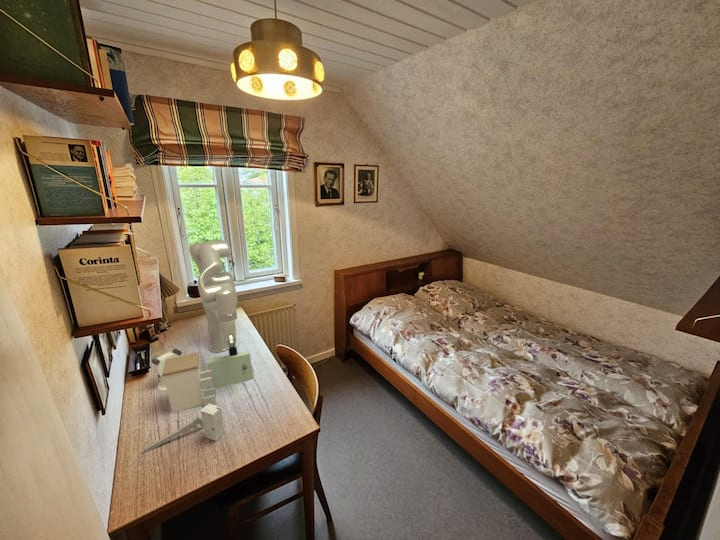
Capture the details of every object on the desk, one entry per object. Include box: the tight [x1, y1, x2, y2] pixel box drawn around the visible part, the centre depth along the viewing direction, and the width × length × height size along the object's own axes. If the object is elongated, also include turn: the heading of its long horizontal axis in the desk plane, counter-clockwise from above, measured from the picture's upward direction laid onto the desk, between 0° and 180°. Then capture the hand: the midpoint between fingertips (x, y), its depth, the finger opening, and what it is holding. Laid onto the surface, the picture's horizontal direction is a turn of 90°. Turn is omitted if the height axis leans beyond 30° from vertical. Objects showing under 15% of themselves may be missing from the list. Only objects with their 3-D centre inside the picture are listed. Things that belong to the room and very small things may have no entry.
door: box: [206, 350, 254, 390], centre depth 144 cm, size 4×18×14 cm, turn 115°
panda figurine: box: [151, 348, 182, 392], centre depth 145 cm, size 12×11×15 cm
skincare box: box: [200, 403, 225, 442], centre depth 116 cm, size 6×4×12 cm
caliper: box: [140, 416, 204, 455], centre depth 115 cm, size 20×1×6 cm, turn 124°
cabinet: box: [162, 352, 217, 414], centre depth 133 cm, size 12×17×19 cm
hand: (232, 350), depth 142 cm, fingers open, 9 cm apart
